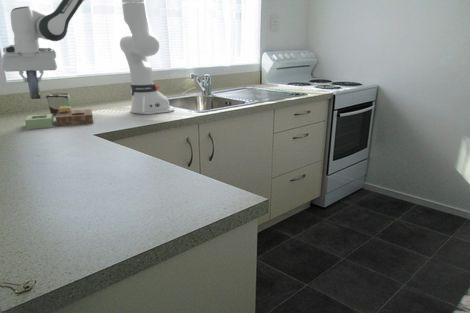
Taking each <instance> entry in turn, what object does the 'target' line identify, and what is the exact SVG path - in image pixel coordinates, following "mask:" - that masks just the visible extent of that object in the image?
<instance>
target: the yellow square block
mask: <svg viewBox="0 0 470 313" xmlns="http://www.w3.org/2000/svg"><path fill="white" fill-rule="evenodd" d="M68 110H72V106H71V105H69V106H60V107H59V111H63V113H67V112H68Z"/></svg>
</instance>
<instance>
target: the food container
mask: <svg viewBox="0 0 470 313" xmlns="http://www.w3.org/2000/svg"><path fill="white" fill-rule="evenodd" d="M45 99H46V100H47V105H48V108H49V109H48V110H49V112H50V113H49V114H52V115H57V112H58V111H59V107H60V106H70V99H71V96H70V94H69V93H68V92H53V93H45ZM68 111H69V110H68Z"/></svg>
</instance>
